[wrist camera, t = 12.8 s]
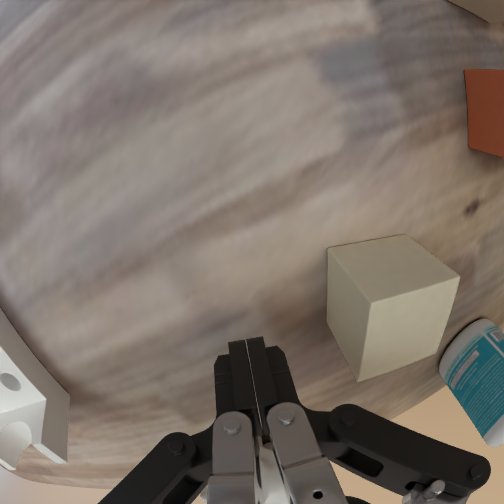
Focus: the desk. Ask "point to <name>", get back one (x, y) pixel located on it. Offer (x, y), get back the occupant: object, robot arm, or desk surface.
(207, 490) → the robot arm
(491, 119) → the block
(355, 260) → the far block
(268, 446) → the elephant figurine
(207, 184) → the desk surface
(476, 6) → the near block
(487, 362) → the pill bottle
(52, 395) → the bracket
